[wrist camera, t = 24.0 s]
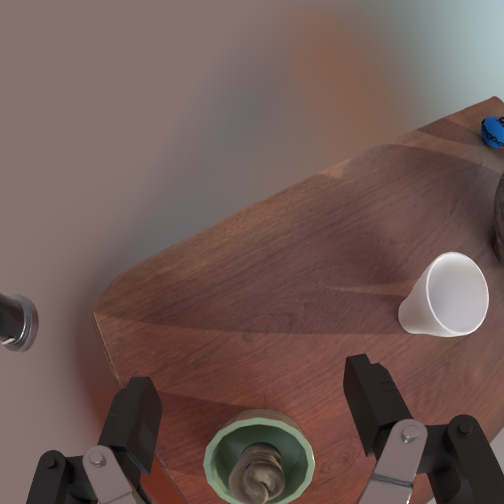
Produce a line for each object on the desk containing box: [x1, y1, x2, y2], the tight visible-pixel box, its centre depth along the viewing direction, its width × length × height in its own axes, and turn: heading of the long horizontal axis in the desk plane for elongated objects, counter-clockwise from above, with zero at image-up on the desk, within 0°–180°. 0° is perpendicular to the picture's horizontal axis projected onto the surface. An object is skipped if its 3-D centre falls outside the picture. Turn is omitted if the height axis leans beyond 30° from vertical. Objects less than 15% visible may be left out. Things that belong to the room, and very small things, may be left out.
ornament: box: [481, 117, 504, 148], centre depth 51 cm, size 9×9×10 cm
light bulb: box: [229, 442, 285, 504], centre depth 28 cm, size 6×6×15 cm
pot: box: [203, 408, 315, 504], centre depth 31 cm, size 13×13×9 cm
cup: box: [398, 252, 489, 337], centre depth 35 cm, size 10×10×14 cm
